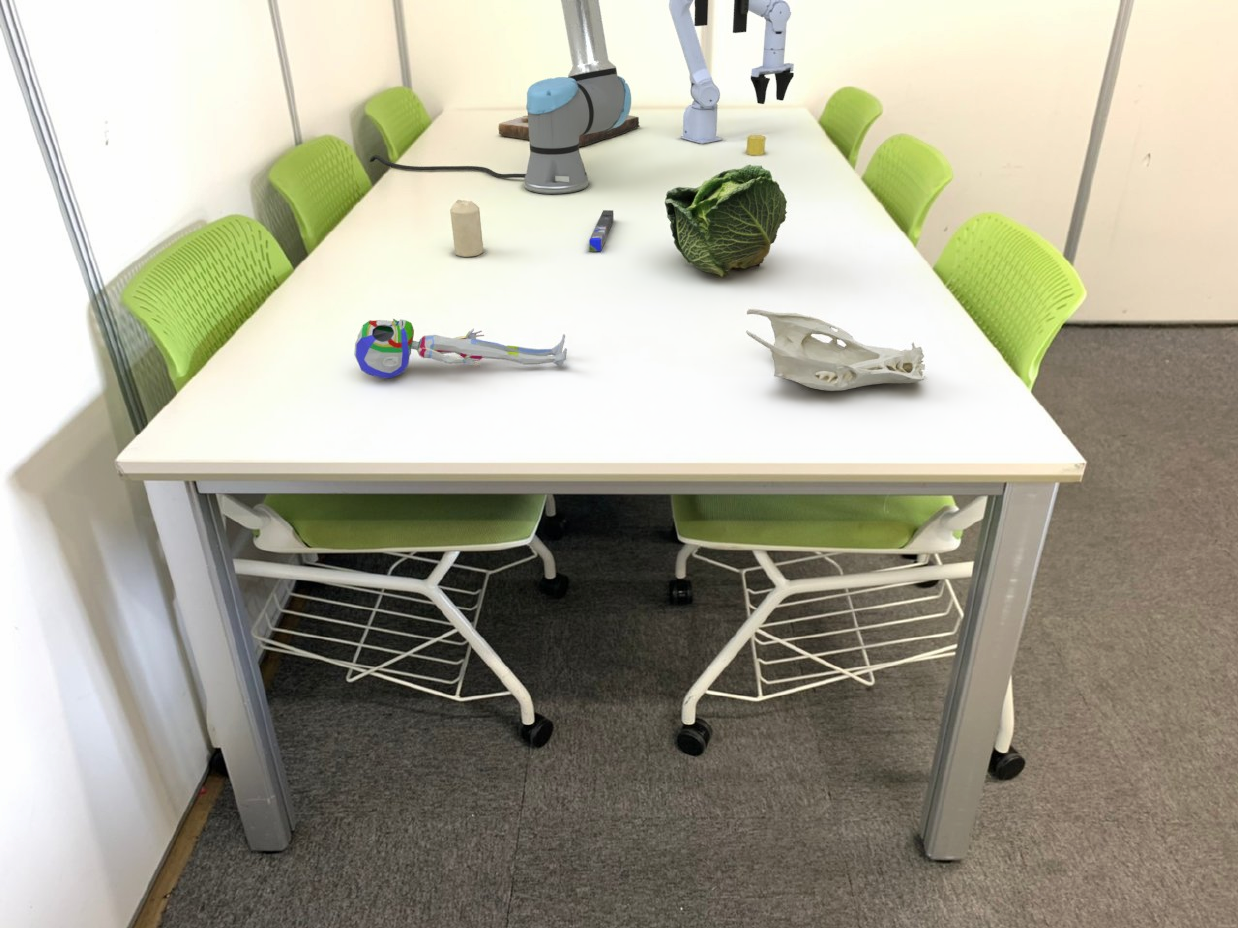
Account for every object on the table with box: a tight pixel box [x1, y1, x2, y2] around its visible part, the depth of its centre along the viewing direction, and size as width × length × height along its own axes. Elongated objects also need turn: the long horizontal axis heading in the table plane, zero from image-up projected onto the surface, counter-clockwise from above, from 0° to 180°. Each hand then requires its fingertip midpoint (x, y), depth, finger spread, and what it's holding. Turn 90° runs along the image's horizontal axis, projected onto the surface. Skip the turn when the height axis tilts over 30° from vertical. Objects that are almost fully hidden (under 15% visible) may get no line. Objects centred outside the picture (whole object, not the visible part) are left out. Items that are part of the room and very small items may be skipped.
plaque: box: [498, 114, 641, 148], centre depth 262 cm, size 30×7×30 cm
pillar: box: [588, 209, 615, 252], centre depth 182 cm, size 2×2×20 cm
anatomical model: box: [745, 308, 927, 392], centre depth 125 cm, size 15×9×25 cm
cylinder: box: [745, 134, 766, 156], centre depth 239 cm, size 5×5×4 cm
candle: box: [449, 199, 484, 258], centre depth 172 cm, size 6×6×10 cm
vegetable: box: [664, 164, 788, 278], centre depth 161 cm, size 20×19×20 cm
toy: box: [353, 318, 568, 379], centre depth 130 cm, size 10×8×30 cm
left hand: (719, 29), depth 180 cm, fingers open, 13 cm apart
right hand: (770, 101), depth 251 cm, fingers open, 7 cm apart
